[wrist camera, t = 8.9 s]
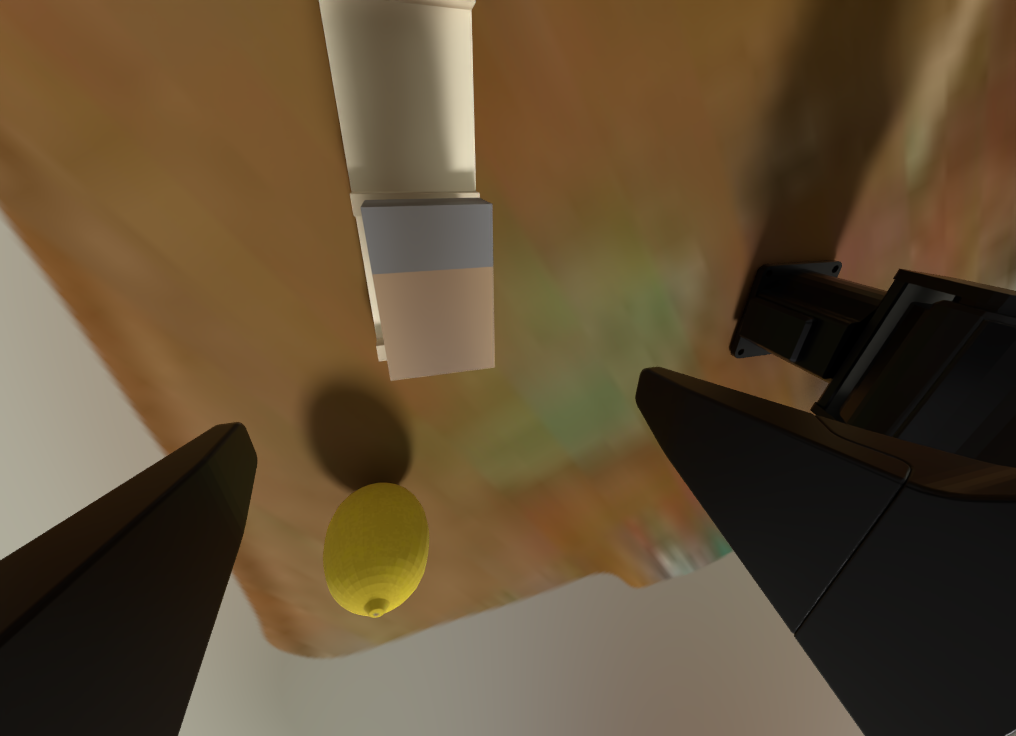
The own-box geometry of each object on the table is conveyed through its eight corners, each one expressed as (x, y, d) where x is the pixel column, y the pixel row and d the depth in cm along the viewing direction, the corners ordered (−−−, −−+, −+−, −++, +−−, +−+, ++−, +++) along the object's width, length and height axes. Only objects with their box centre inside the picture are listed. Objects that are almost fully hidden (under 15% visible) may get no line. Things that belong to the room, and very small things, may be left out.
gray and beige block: (459, 188, 16) (492, 204, 11) (466, 309, 19) (494, 367, 13) (370, 190, 15) (360, 207, 10) (390, 316, 18) (390, 380, 13)
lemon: (316, 476, 23) (285, 611, 16) (405, 443, 23) (411, 560, 17) (357, 529, 26) (346, 662, 19) (435, 499, 26) (451, 617, 19)
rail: (453, -309, 11) (538, -939, 5) (474, 333, 21) (510, 410, 15) (261, -368, 10) (27, -1317, 3) (380, 342, 20) (375, 430, 13)
